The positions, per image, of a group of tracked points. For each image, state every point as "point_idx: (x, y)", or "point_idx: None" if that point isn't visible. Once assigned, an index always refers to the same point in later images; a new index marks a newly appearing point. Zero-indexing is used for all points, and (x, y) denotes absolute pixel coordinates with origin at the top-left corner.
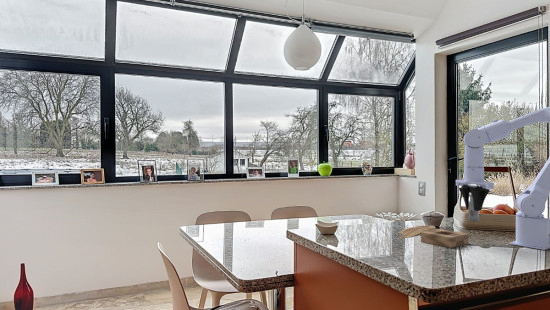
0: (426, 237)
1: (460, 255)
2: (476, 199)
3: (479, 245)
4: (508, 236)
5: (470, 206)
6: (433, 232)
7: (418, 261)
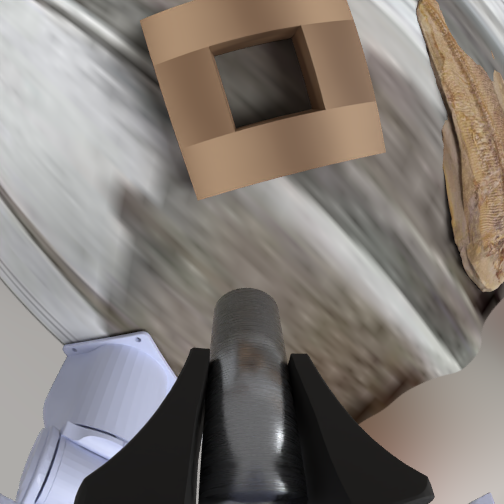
0: None
1: (49, 6)
2: (150, 422)
3: (157, 206)
4: None
5: (244, 366)
6: (308, 28)
7: None
